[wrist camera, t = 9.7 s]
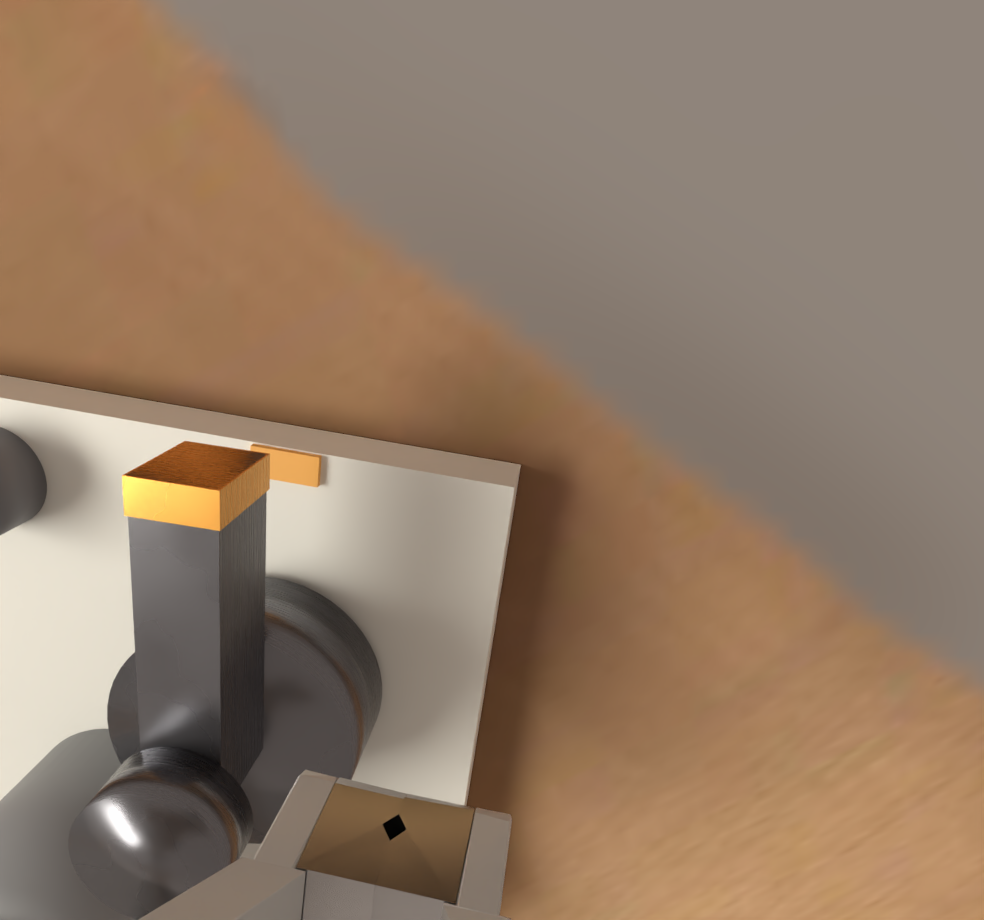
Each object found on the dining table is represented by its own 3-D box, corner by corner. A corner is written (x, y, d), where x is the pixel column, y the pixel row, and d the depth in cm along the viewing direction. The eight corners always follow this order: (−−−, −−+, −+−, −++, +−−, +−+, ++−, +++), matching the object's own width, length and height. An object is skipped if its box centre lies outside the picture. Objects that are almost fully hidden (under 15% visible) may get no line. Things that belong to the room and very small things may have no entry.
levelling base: (447, 925, 28) (383, 1241, 20) (-13, 823, 30) (-264, 1075, 21) (520, 464, 22) (476, 626, 13) (-64, 363, 24) (-451, 450, 15)
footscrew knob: (375, 787, 24) (292, 1006, 17) (169, 748, 24) (12, 945, 18) (401, 433, 20) (308, 540, 13) (156, 397, 20) (-51, 483, 14)
